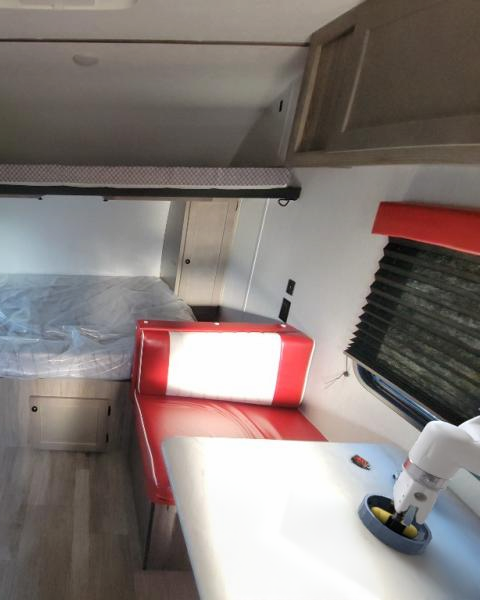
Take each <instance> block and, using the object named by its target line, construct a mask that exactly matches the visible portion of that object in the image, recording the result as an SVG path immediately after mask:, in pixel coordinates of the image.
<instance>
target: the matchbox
mask: <svg viewBox="0 0 480 600" xmlns="http://www.w3.org/2000/svg"><path fill="white" fill-rule="evenodd" d="M350 460H351V461H352V462H353V463H355V464H357V465H358V466H360V467H361V468H366V467H367V465H368V466H370V465H369V464H371V462H370V461H368V460H367V459H365V458H364V457H362V456H361V455H359V454H357V453H356V454H354V455H353V456H351V458H350ZM367 470H370V469H369V468H368V469H367Z"/></svg>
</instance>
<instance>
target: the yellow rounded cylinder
mask: <svg viewBox="0 0 480 600" xmlns="http://www.w3.org/2000/svg"><path fill="white" fill-rule="evenodd" d="M370 511H371V512H372V513H373V515H374V516H375V517H376V518H377V519H378V520H379V521H380V522H381V523H383V524H385V522H386V520H387V519H388V517H389V516H390V515H392V514H390V513H388V512H386V511H384V510H382V509H380V508H378V507H373V508H371V510H370ZM402 534H404V535H406V536H408V537H410V538H415V537H417V535H418V531H417V529H416V528H415V527H414V526H413V525H410V527H406V528H405V530H404V531H403V533H402Z"/></svg>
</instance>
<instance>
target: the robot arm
mask: <svg viewBox="0 0 480 600" xmlns="http://www.w3.org/2000/svg"><path fill="white" fill-rule="evenodd" d="M401 468H402V470H401V471H402V473H401V474H400V476H399V477H398V479H397V481H396V480H395V481H396V482H395V481H394V485H393V488H392V493H393V495H392V496H393V497H392V498H393V499H392V500H391V503H390V504H391V505H390V504H389V506H388V507H387V509H386V510H385V511H386V512H388V513H390V514H392V515H390V516H389V517H388V519H387V520H386V522H385V524H384V525H385V526H386V527H387V528H389V529H390V530H392V531H393V532H395V533H397V534H399V535H401V534H402V533H403V531H404V530H405V528H406V527H410V525H411V523H412V520H413V517H414V515H415V517H416V522H417V523H419V524H423V523H424V522H425V523H426V521H427V518H428V517H429V515H430V513H431V512H432V510H433V508H434V506H435V504H436V503H437V500H438V498H439V495H440V491H444V490H446V488H447V487H448V486H449V485H450V483H451V481H452V480H453V478H454V477H455V476H456V474H458V472H459V470H460V469H464V470H465V471H467V472H469V473H471V474H473V475H475V476H478V477H480V415H477V416H475V417H472V418H471V419H468V420H466V421H464V422H463V423H461V424H459V425H458V426H457V425H454V424H452V423H449V422H445V421H442V420H431V421H429V422H428V423H426V425H425V427H424V428H423V429H422V431H421V433H420V435H419V436H418V438H417V439H416V441H415V443H414V444H413V446H412V447H411V449H410V451H409V453H408V454H407V456H406V457H405V459H404V461H403V462H402V464H401ZM392 505H393V506H392Z"/></svg>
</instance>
